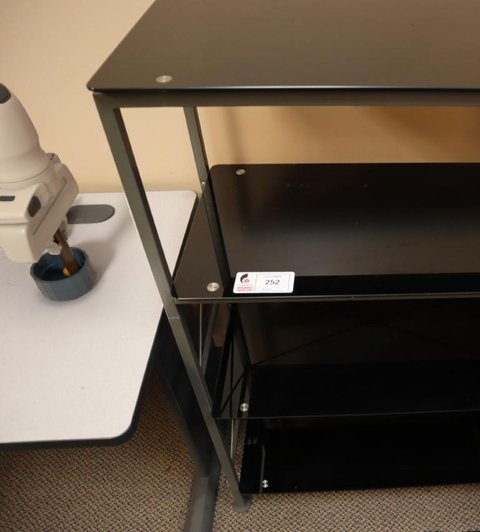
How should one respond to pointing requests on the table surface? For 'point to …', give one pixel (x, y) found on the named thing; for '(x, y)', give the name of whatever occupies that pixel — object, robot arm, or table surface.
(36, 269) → the bowl
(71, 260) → the stick
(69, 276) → the bead
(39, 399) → the table surface
